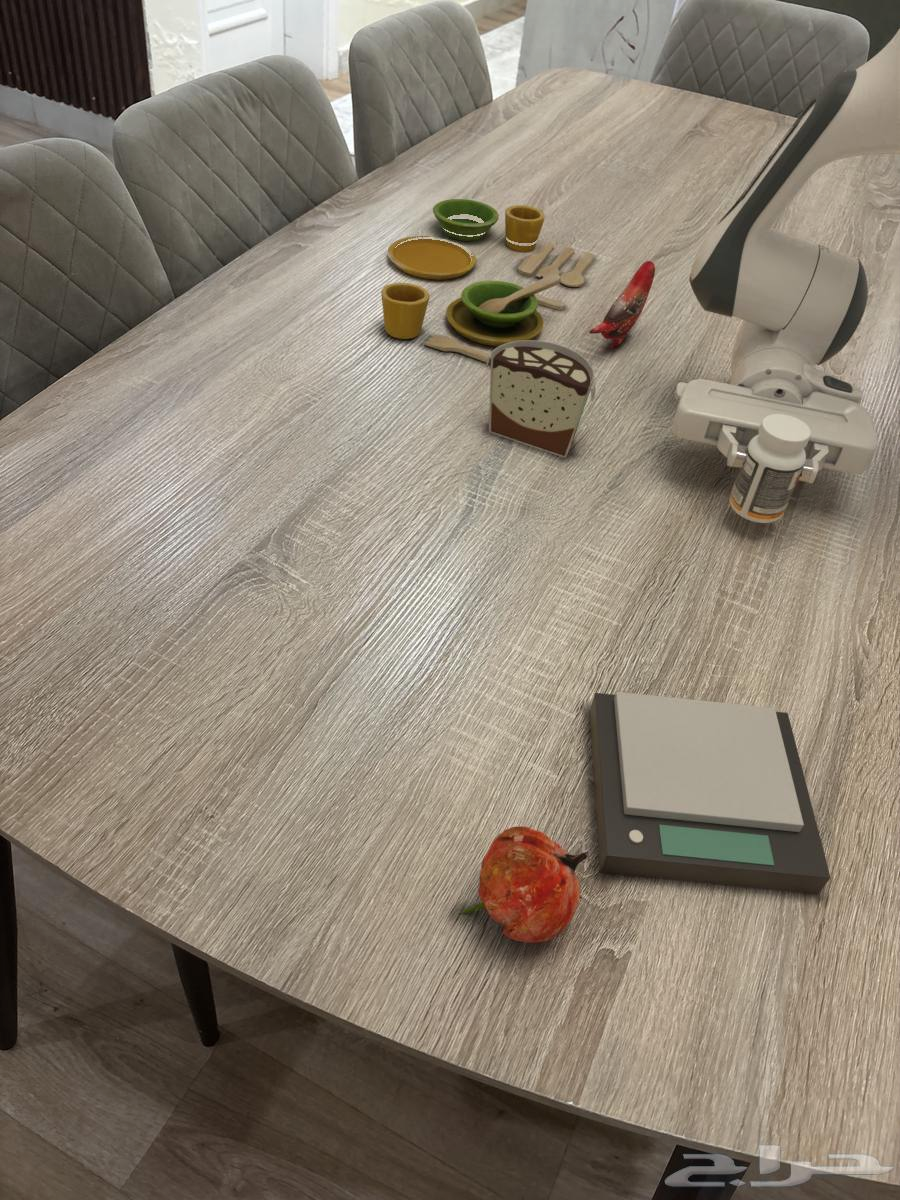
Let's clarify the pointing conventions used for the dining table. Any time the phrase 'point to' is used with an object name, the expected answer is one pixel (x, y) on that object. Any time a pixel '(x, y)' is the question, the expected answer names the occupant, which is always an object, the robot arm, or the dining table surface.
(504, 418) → the cake slice cutout
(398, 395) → the dining table surface
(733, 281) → the robot arm
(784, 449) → the pill bottle
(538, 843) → the pomegranate
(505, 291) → the tableware set
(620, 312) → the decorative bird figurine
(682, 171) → the dining table surface
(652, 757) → the kitchen scale
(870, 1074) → the dining table surface
